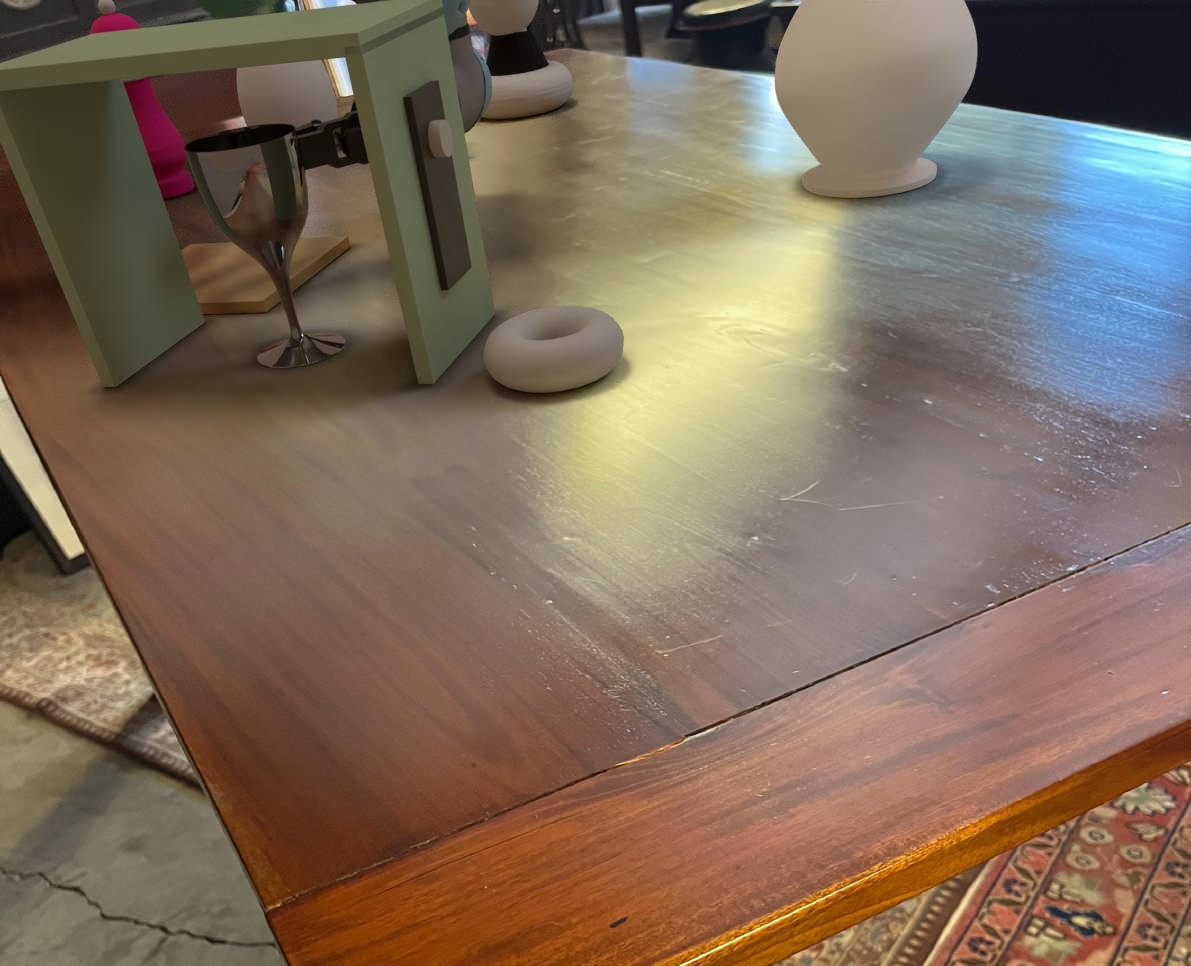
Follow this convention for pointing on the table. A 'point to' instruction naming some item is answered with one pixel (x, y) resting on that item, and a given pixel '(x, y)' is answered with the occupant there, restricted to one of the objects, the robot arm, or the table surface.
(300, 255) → the cutting board
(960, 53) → the decorative vase
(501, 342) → the donut
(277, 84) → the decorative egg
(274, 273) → the wine glass
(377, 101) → the cubby
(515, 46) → the decorative figurine
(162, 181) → the pepper mill
